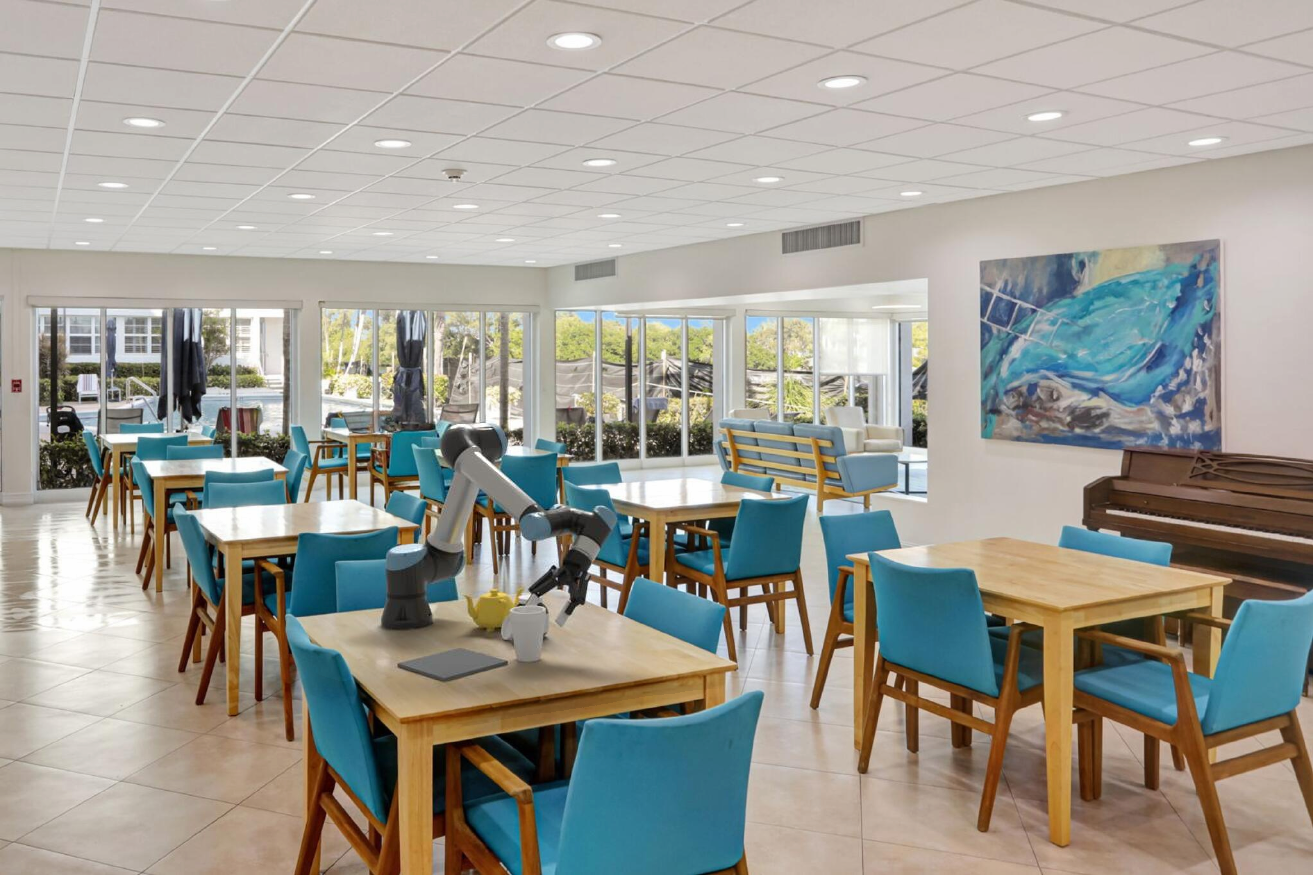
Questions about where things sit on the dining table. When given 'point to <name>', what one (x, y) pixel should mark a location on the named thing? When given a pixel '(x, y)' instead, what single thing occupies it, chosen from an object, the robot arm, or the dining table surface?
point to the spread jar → (506, 626)
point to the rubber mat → (452, 664)
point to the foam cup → (528, 631)
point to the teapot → (492, 608)
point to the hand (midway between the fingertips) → (540, 620)
